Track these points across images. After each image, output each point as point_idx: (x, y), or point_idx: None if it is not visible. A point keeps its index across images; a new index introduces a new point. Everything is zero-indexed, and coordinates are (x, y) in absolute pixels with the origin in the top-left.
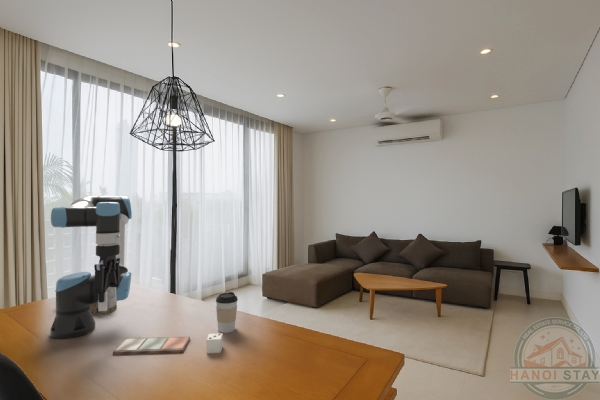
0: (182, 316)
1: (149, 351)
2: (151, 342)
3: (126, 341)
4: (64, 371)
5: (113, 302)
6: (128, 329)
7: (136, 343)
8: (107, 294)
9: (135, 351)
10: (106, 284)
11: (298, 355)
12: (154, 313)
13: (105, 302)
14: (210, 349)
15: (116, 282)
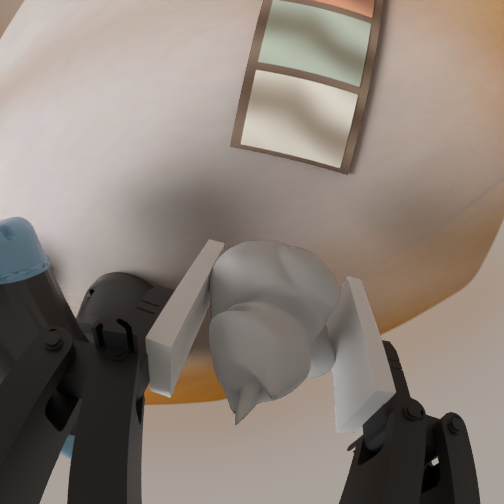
0: (69, 24)
1: (375, 53)
2: (305, 45)
3: (266, 138)
4: (396, 282)
5: (322, 265)
6: (128, 165)
7: (299, 97)
8: (310, 365)
9: (366, 97)
10: (398, 477)
11: None
12: (31, 125)
13: (371, 325)
14: None
15: (105, 381)
